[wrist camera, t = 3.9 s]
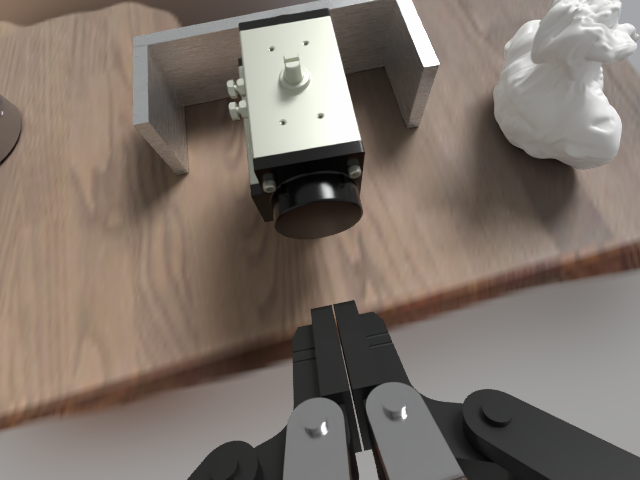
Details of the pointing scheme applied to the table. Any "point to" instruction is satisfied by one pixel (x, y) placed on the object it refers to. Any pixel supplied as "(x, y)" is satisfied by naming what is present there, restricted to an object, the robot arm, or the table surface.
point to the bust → (564, 83)
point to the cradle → (224, 51)
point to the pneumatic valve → (298, 125)
